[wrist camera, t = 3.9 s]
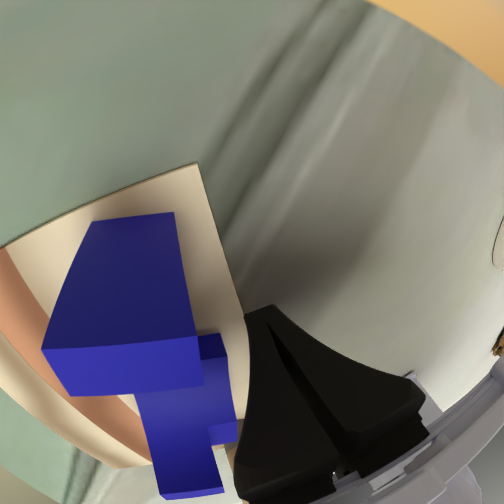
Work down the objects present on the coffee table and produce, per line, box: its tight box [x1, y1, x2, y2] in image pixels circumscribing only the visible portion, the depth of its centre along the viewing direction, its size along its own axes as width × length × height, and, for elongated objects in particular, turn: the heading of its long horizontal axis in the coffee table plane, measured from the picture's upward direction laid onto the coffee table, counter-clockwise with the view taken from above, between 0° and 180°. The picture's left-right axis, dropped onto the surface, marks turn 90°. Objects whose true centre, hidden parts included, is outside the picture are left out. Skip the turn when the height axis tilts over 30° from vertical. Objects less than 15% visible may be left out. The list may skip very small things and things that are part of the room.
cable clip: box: [41, 212, 237, 500], centre depth 10 cm, size 12×4×6 cm, turn 178°
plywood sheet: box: [0, 163, 250, 469], centre depth 14 cm, size 16×21×1 cm
